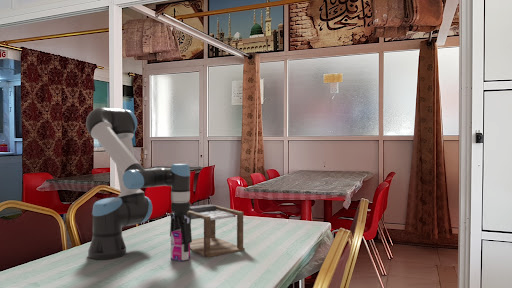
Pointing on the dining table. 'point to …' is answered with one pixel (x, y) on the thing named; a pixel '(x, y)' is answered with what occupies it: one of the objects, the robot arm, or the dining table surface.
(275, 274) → the dining table surface
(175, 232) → the supplement box
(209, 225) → the frame
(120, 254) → the robot arm
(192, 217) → the trapdoor
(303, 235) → the dining table surface
